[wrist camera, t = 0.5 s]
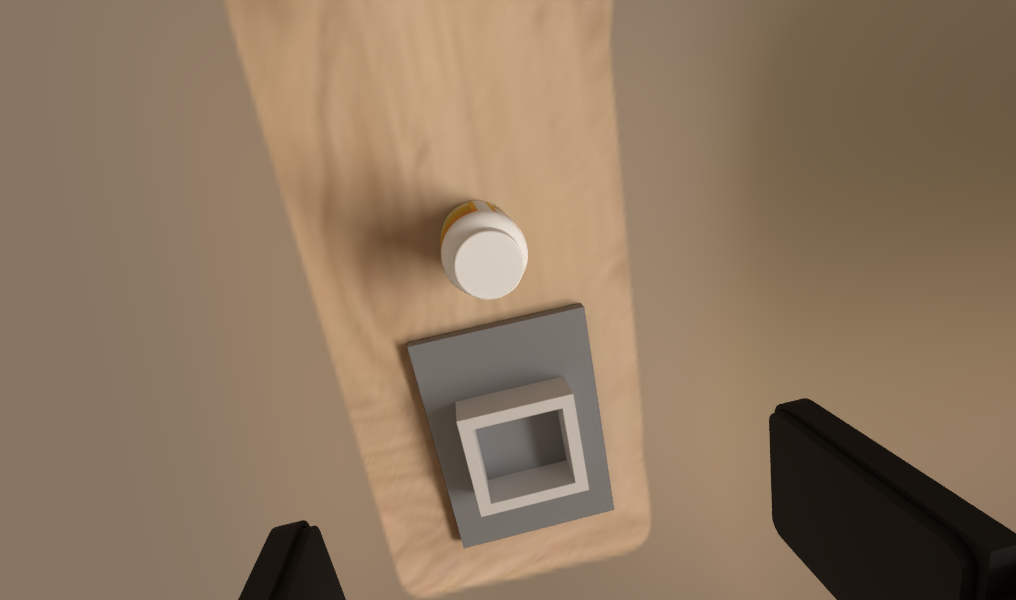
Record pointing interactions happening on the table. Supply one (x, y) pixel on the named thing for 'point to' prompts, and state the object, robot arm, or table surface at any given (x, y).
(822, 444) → the robot arm
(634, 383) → the table surface
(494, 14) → the table surface
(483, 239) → the supplement bottle
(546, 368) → the cup holder
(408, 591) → the table surface
